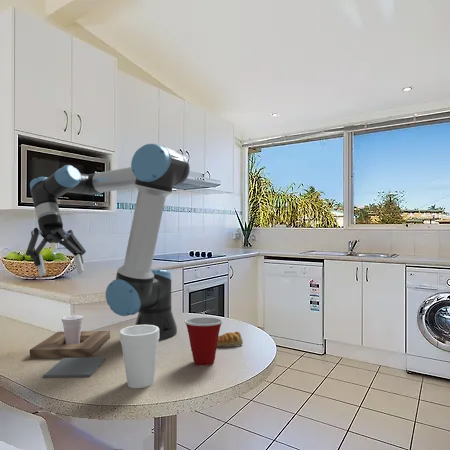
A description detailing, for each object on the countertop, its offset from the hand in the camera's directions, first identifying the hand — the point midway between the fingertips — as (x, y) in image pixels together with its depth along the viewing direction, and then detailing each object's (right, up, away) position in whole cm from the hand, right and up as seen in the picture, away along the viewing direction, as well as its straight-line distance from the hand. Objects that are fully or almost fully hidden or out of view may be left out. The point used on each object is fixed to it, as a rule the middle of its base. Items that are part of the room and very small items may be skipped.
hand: (62, 273), depth 120 cm
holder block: (+5, -23, -4) cm, 24 cm away
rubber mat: (+13, -23, -21) cm, 34 cm away
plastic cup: (+48, -23, -18) cm, 56 cm away
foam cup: (+33, -23, -31) cm, 51 cm away
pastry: (+55, -23, -3) cm, 60 cm away
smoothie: (+5, -23, -4) cm, 24 cm away
